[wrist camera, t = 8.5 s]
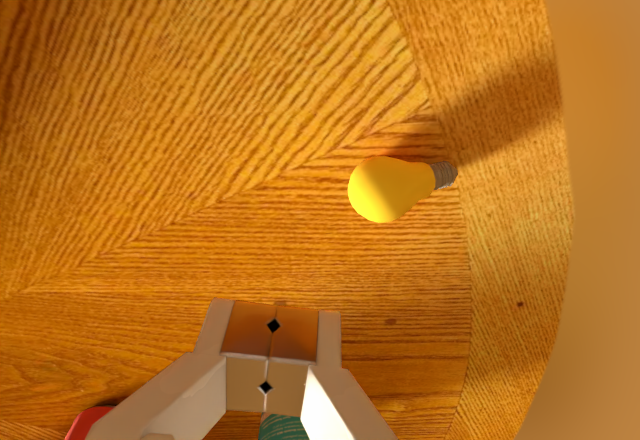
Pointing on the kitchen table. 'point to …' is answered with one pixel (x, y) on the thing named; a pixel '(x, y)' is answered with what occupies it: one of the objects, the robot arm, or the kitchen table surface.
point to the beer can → (86, 421)
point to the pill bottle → (281, 428)
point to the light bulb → (395, 185)
